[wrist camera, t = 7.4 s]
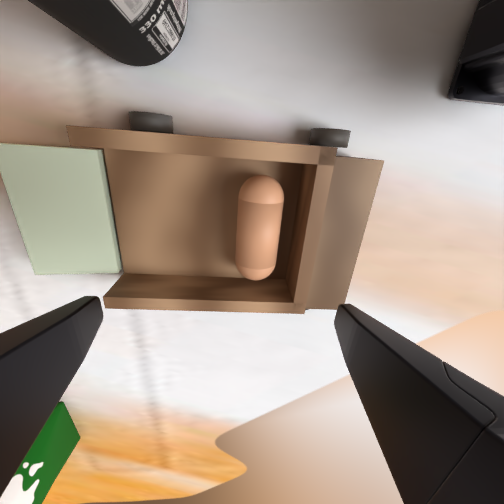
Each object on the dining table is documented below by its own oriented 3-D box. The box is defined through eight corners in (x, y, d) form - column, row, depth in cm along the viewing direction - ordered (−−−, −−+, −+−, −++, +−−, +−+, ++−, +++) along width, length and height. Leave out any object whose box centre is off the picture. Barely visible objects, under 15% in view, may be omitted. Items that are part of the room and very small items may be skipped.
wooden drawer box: (357, 134, 18) (392, 130, 14) (320, 294, 24) (338, 325, 19) (105, 112, 16) (60, 101, 12) (132, 287, 22) (107, 320, 18)
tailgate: (96, 150, 16) (-10, 142, 15) (118, 272, 20) (34, 274, 19) (104, 149, 17) (5, 142, 16) (123, 265, 21) (44, 267, 20)
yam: (282, 173, 18) (291, 179, 15) (271, 268, 21) (276, 289, 18) (239, 170, 18) (239, 175, 15) (234, 267, 21) (234, 287, 18)
